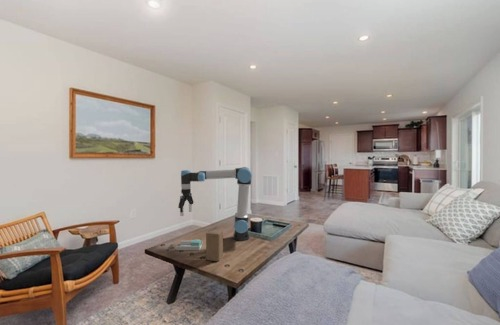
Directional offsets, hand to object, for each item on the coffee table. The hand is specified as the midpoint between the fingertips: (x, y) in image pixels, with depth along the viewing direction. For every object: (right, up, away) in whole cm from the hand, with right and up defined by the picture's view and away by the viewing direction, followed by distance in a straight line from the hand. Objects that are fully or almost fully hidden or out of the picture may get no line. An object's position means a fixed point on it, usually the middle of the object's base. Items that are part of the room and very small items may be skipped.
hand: (186, 213), depth 191 cm
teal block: (+10, -26, -6) cm, 28 cm away
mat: (-9, -26, -6) cm, 28 cm away
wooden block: (+28, -27, -24) cm, 46 cm away
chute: (+5, -26, -6) cm, 27 cm away
